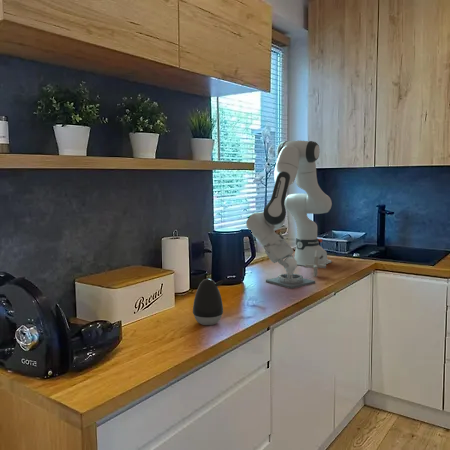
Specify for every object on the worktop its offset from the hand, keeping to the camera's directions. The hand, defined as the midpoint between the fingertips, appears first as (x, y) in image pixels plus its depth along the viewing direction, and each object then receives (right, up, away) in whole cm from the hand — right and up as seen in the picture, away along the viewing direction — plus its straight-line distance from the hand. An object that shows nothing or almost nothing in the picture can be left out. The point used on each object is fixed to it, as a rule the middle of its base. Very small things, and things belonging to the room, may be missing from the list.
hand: (291, 265), depth 207 cm
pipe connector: (+14, -7, +14) cm, 21 cm away
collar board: (0, -8, +1) cm, 8 cm away
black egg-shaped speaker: (-36, -15, -54) cm, 67 cm away
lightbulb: (0, -7, +1) cm, 7 cm away
